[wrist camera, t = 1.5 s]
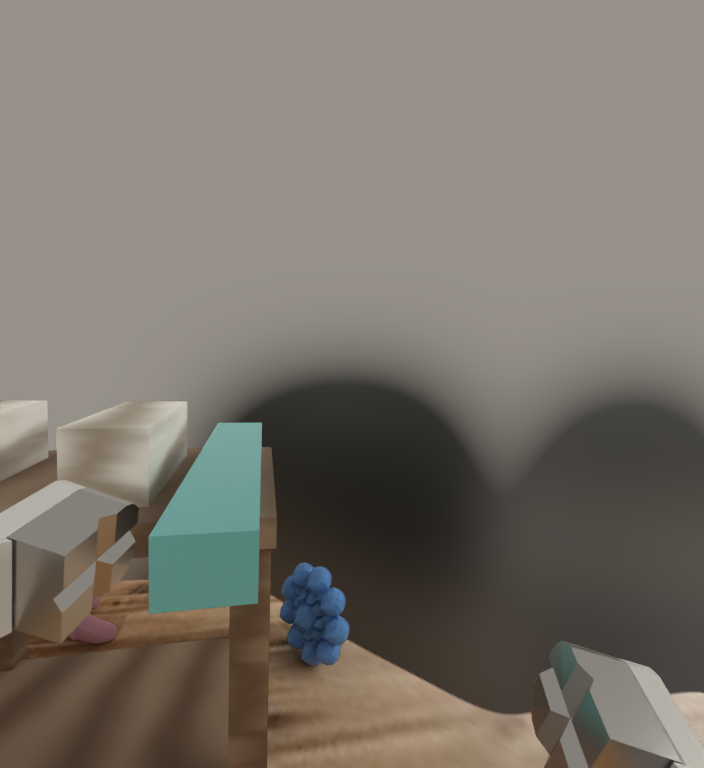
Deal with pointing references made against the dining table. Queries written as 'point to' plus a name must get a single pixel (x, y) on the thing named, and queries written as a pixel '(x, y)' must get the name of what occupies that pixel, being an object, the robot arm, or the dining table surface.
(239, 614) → the shelf
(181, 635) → the dining table surface
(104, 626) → the video game controller
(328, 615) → the grapes
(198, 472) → the module bar
